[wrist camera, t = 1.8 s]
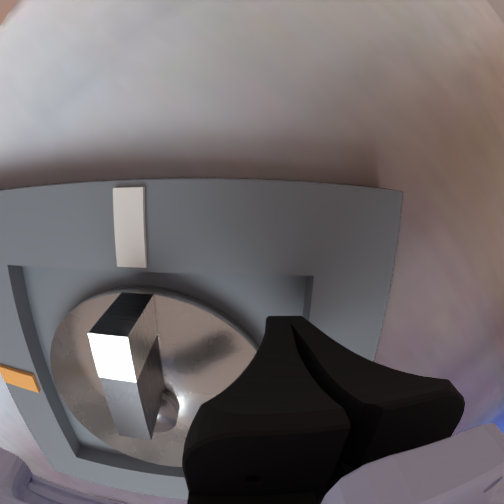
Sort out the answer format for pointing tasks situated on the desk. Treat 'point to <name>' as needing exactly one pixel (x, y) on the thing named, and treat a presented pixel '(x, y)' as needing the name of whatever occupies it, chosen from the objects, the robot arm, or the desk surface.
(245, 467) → the robot arm
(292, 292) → the dial plate
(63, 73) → the desk surface
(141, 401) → the dial
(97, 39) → the desk surface
